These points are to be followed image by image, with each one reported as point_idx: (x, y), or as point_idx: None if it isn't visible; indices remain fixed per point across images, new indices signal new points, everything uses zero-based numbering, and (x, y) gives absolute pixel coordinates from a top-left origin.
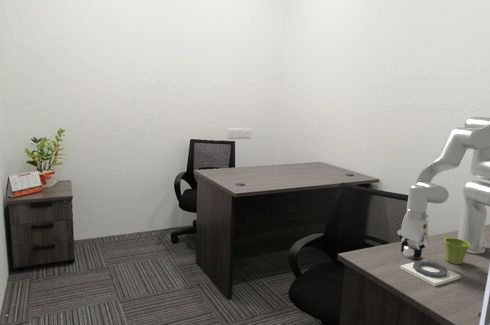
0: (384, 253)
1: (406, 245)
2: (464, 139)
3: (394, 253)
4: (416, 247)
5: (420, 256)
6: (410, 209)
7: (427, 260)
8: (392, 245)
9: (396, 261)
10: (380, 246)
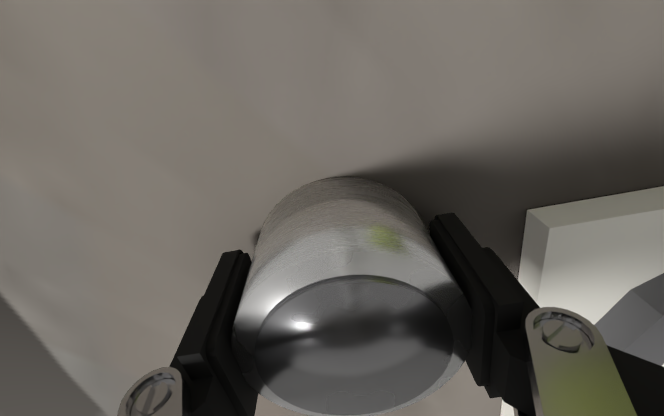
0: None
1: (295, 396)
2: None
3: None
4: (411, 315)
5: (454, 216)
6: None
7: (586, 225)
8: (14, 260)
9: (402, 409)
10: (78, 376)
